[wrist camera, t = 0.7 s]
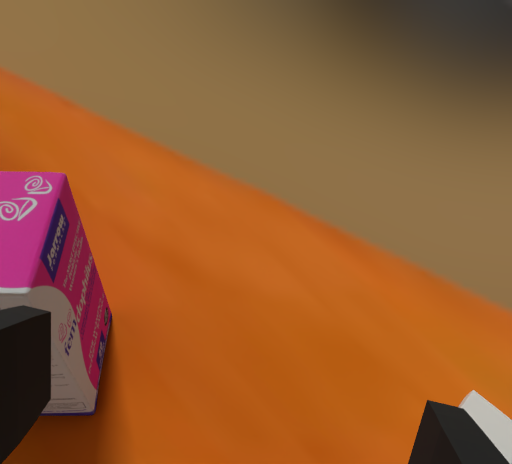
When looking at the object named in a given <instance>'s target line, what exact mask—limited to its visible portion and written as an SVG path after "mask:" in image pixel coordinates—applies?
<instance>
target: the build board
mask: <svg viewBox="0 0 512 464" xmlns="http://www.w3.org/2000/svg"><path fill="white" fill-rule="evenodd" d="M459 408H463V409H464V410H465V411H466V412H467V413H468V414H469V415H470V416H471V417H472V419H473V420H474V421H475V422H476V423H477V424H478V426H479V427H480V428H481V429H482V430H483V432H484V433H485V434H486V435H487V436H488V438H489V439H490V440H491V441H492V443H493V444H494V445H495V446H496V447H497V449H498V450H499V451H500V452H501V453H502V455H503V456H504V457H505V458H506V460H507V461H508V462H509V463H510V464H511V463H512V420H511V419H510V418H508V417H507V416H506V415H505V414H503V413H502V412H501V411H500V410H498V409H497V408H496V407H494V406H493V405H492V404H491V403H489V402H488V401H487V400H486V399H484V398H483V397H482V396H480V395H479V394H478V393H477V392H475V391H474V390H472V391H471V392H470V393H469V394H468V395H467V396H466V397H465V398H464V400H463V401H462V402H461V404H460V405H459Z"/></svg>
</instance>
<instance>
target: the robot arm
mask: <svg viewBox="0 0 512 464" xmlns="http://www.w3.org/2000/svg"><path fill="white" fill-rule="evenodd" d="M50 400H51V312H50V311H46V310H42V309H37V308H33V307H29V306H25V305H22V306H17V307H11V308H7V309H3V310H0V464H1V463H2V462H3V461H4V460H5V459H6V458H7V457H8V456H9V454H10V453H11V452H12V451H13V450H14V449H15V448H16V447H17V445H18V444H19V443H20V442H21V440H22V439H23V438H24V436H25V435H26V434H27V432H28V431H29V430H30V428H31V427H32V426H33V424H34V423H35V421H36V420H37V418H38V417H39V416H40V414H41V413H42V411H43V410H44V408H45V407H46V405H47V404H48V402H49V401H50ZM408 464H510V463H509V462H508V461H507V460H506V458H505V457H504V456H503V455H502V453H501V452H500V451H499V450H498V449H497V447H496V446H495V445H494V444H493V443H492V441H491V440H490V439H489V438H488V436H487V435H486V434H485V433H484V432H483V430H482V429H481V428H480V427H479V426H478V424H477V423H476V422H475V421H474V420H473V419H472V417H471V416H470V415H469V414H468V413H467V412H466V411H465V410H464V409H463V408H459V407H455V406H450V405H446V404H442V403H438V402H433V401H429V400H427V403H426V406H425V409H424V413H423V416H422V419H421V423H420V426H419V429H418V433H417V436H416V439H415V443H414V446H413V449H412V453H411V456H410V459H409V462H408Z"/></svg>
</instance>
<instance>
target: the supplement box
mask: <svg viewBox="0 0 512 464" xmlns="http://www.w3.org/2000/svg"><path fill="white" fill-rule="evenodd" d="M22 305H25V306H29V307H33V308H37V309H42V310H46V311H50V312H51V400H50V401H49V402H48V404H47V405H46V407H45V408H44V410H43V411H42V413H41V414H40V416H77V415H93V414H94V413H95V411H96V404H97V395H98V387H99V380H100V374H101V369H102V363H103V358H104V352H105V347H106V342H107V336H108V331H109V328H110V323H111V319H112V313H111V311H110V308H109V305H108V302H107V299H106V295H105V293H104V290H103V287H102V283H101V280H100V278H99V274H98V271H97V269H96V266H95V262H94V259H93V256H92V253H91V250H90V247H89V244H88V241H87V238H86V235H85V232H84V229H83V226H82V223H81V220H80V216H79V214H78V211H77V208H76V205H75V202H74V199H73V196H72V192H71V189H70V186H69V183H68V179H67V176H66V174H64V173H53V172H0V310H3V309H7V308H11V307H17V306H22Z"/></svg>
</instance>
